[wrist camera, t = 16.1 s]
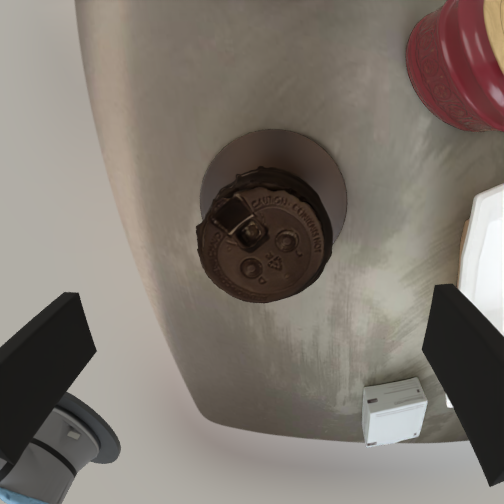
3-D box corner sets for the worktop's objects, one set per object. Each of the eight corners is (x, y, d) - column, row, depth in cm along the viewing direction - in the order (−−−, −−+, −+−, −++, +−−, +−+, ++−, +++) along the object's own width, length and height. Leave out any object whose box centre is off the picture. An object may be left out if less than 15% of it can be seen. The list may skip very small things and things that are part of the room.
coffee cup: (224, 157, 29) (183, 171, 17) (315, 156, 28) (340, 168, 16) (229, 247, 32) (197, 314, 20) (314, 247, 31) (333, 316, 19)
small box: (418, 374, 37) (430, 400, 32) (410, 412, 39) (419, 438, 34) (362, 385, 38) (369, 413, 33) (360, 423, 40) (365, 449, 35)
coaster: (209, 272, 34) (207, 275, 33) (195, 135, 30) (193, 135, 29) (344, 268, 33) (345, 271, 32) (344, 128, 28) (345, 127, 27)
